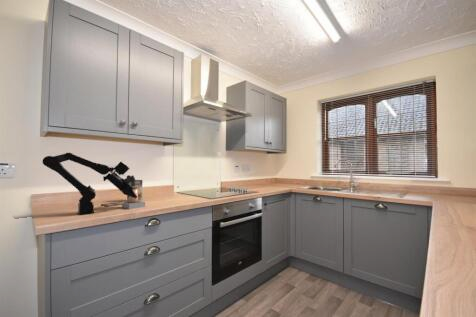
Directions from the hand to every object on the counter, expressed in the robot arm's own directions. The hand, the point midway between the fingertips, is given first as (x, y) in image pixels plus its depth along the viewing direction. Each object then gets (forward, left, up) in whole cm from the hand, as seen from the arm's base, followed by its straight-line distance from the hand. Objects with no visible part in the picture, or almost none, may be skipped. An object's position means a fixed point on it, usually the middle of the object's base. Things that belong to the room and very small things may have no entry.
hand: (136, 197), depth 142 cm
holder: (-1, 0, -7) cm, 7 cm away
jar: (-1, 0, -6) cm, 6 cm away
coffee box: (+15, +32, -7) cm, 36 cm away
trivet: (-5, +20, -7) cm, 22 cm away
